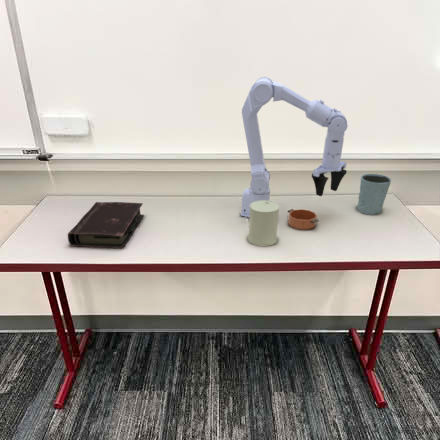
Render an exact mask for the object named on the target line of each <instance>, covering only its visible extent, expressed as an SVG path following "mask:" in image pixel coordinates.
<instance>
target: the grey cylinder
mask: <svg viewBox="0 0 440 440" xmlns="http://www.w3.org/2000/svg"><path fill="white" fill-rule="evenodd" d="M391 183H392V178H390V177H388V176H386V175H384V174H378V173H367V174H366V173H365V174H362V175H361V177H360V186H359V193H358V202H357V208H356V209H357V211H358V212H360V213H362V214H365V215H371V216H372V215H373V216H375V215H378V214H381V213H382V210H383V207H384V202H385V200H386V197H387V195H388V191H389V188H390V185H391Z"/></svg>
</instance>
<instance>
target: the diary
mask: <svg viewBox="0 0 440 440" xmlns="http://www.w3.org/2000/svg"><path fill="white" fill-rule="evenodd" d="M142 206H143V202H129V201H128V202H126V201H125V202H124V201H96V202H95V203H94V204H93V205H92V206H91V207H90V209H89V210H88V211H87V212H86V213H85V214H84V215H83V216H82V217H81V219H79V221H78V222H77V223H76V225H74V227H73V228H71V229H70V230H69V231H68V233H67V241H68V243H69V245H70V246H71V247H91V248H108V249H109V248H114V249H115V248H123V247H125V246H126V245H127V243H128V242H129V241H130V239H131V237H132V235H133V234H134V232H135V230H136V229H137V228H138V227H139V225H140V224H141V221H142V219H143V218H144V216H145V214H141V207H142Z"/></svg>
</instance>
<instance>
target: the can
mask: <svg viewBox="0 0 440 440" xmlns="http://www.w3.org/2000/svg"><path fill="white" fill-rule="evenodd" d="M279 213H280V205H279V204H278V203H277V202H275V201H273V200H272V201H271V200H269V201H266V200H261V201H255V202H253V203H251V204H250V217H249V225H248V229H249V230H248V237H247V239H248V242H249V243H250V244H252V245H254V246H258V247H268V246H272V245H274V244H276V243H277V241H278V238H277V236H278V223H279Z"/></svg>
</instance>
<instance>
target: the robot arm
mask: <svg viewBox="0 0 440 440" xmlns="http://www.w3.org/2000/svg"><path fill="white" fill-rule="evenodd" d="M272 98H273V99H272ZM271 100H272V102H273V103H274V102H280V101H282V102H285V103H287V104H289V105H292V106H293V107H295V108H297V109H299V110H300V111H303V112H304V113H305V117H306V118H307V119H309V121H311V122H314V123H315V124H317V125H318V126H321V127H322V128H327V129H326V136H325V140H324V145H323V146H324V147H323V154H322V159H321V165H319V166H318V167H317V168H315V169H313V170H312V171H313V172H312V173H311V178H312V181H313V184H314V187H315V188H314V189H315V195H316V196H319V197H322V196H323V194H324V191H325V187H326V184H327V182H328V180H329V177H327V176H325V174H329V173H330V190H331V191H333V192H337V191H338V189H339V186H340V184H341V182H342V180H343V178H344V177H345V175H346V174H347V171H348V170H346V168H347V162H346V161H341V159H342V153H343V147H344V140H345V138H344V137H345V132H346V131H347V129H348V127H349V126H348V120H347V118H346V116H345V114H344V113H342V112H341V111H340V110H338V108H335V107H334V108H332V107H330V106H329V105H326V104H325V101H324V100H323V99H320V100H318V99H314V100H309V99H307V98H305V97H304V96H302V95H300V94H299V93H297V92H296V91H294V90H292V89H291V88H290V87H288V86H286V85H284V84H282V83H280V82H278V81H277V80H272V79H271V78H269V77H267V76H262V77H259V78H258V79H257V80H256V81H255V82H254V83H253V84H252V86H251V87H250V89H249V91H248V93H247V96H246V98H245V101H244V103H243V105H242V108H241V115H242V117H241V118H242V121H243V128H244V134H245V140H246V145H247V151H248V156H249V158H248V159H249V162H250V175H251V180H250V185H249V188H244V190H243V192H242V196H241V213H240V216H241V217H245V218H250V204H251V203H253V202H255V201H261V200H266V201H271V200H270V198H271V189H270V179H271V173H270V171H269V170H268V169H267V165H266V162H265V156H264V151H263V144H262V136H261V131H260V125H259V119H258V113H259V112H260V111H261V109H262V107H264V106H265V105H266V104H268V103H269V102H270V101H271Z"/></svg>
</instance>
